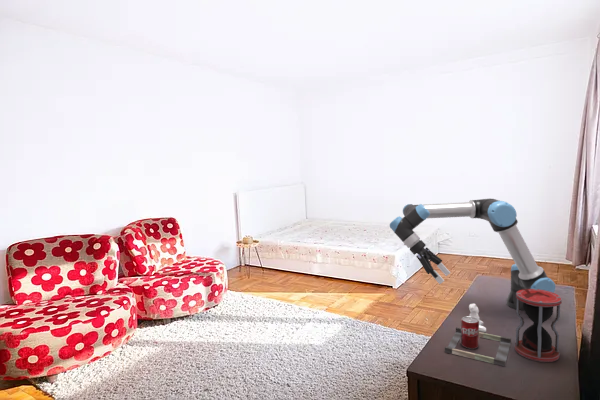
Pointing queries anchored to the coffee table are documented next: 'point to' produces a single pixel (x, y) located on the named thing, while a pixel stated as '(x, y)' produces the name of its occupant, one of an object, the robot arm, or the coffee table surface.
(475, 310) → the white creature statuette
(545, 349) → the hourglass
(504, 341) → the square frame
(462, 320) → the soda can
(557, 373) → the coffee table surface
